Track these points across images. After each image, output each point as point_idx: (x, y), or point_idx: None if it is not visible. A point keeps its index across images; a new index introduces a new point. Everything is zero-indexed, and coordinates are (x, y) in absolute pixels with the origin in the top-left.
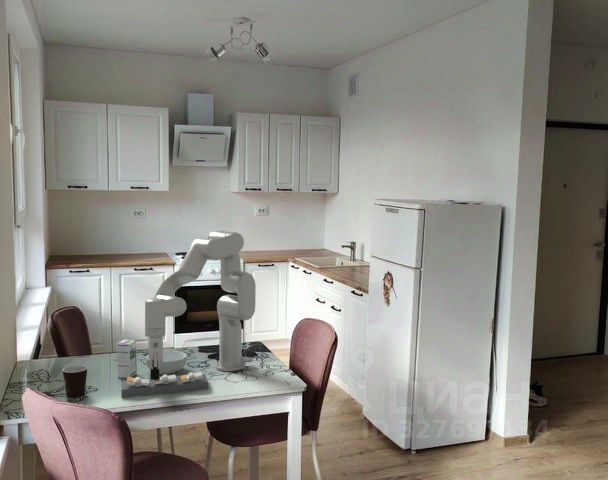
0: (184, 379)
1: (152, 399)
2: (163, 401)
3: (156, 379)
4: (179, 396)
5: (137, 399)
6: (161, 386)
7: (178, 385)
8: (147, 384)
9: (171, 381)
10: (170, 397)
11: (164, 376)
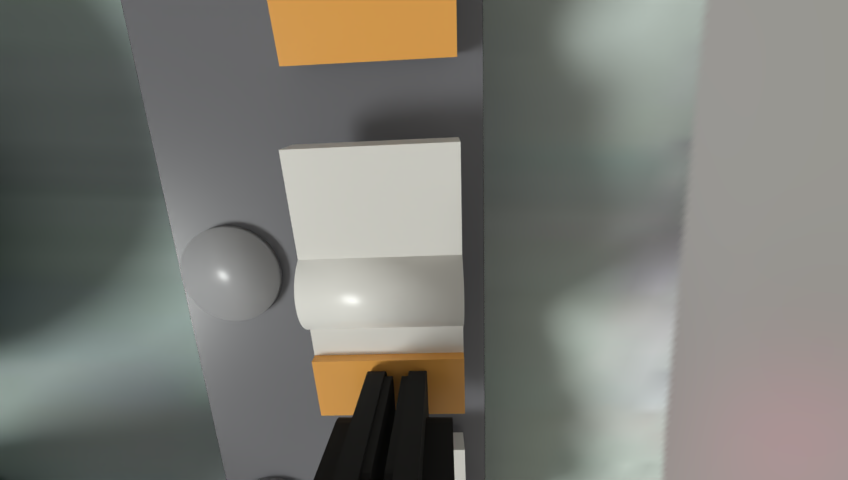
0: (454, 7)
1: (589, 352)
2: (675, 266)
3: (427, 396)
4: (595, 110)
5: (549, 454)
6: (483, 308)
7: (481, 112)
8: (463, 455)
9: None
10: (593, 201)
11: (383, 312)
